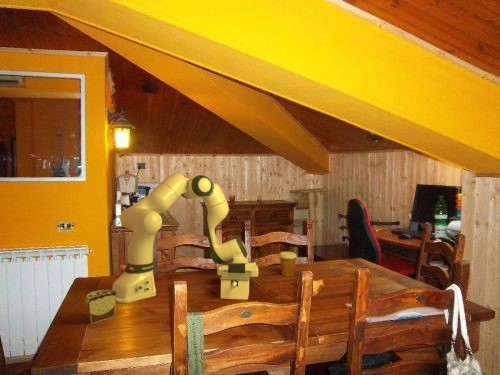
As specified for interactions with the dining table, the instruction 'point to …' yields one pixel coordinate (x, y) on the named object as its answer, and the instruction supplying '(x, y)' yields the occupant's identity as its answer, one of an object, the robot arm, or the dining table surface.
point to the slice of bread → (317, 286)
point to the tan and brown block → (101, 305)
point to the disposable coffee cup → (287, 263)
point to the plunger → (236, 270)
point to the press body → (241, 287)
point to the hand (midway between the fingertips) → (236, 275)
